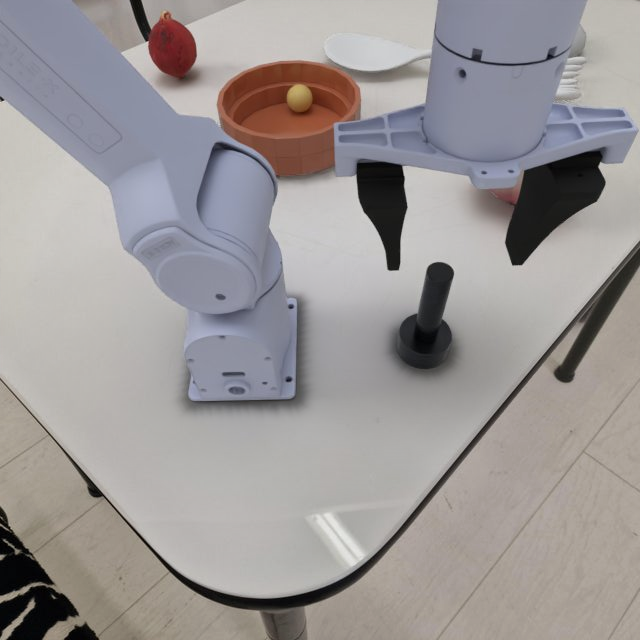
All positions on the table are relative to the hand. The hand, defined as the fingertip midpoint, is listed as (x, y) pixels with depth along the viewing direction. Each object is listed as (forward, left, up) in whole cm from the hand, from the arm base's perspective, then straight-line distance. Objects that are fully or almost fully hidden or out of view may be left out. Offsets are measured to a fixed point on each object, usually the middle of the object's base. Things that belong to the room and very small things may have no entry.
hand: (452, 256), depth 33 cm
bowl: (+29, +12, -10) cm, 33 cm away
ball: (+34, +11, -8) cm, 36 cm away
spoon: (+41, -7, -11) cm, 43 cm away
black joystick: (0, +1, -10) cm, 10 cm away
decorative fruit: (+17, -11, -11) cm, 23 cm away
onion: (+43, +27, -11) cm, 52 cm away
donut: (+47, -21, -11) cm, 53 cm away
